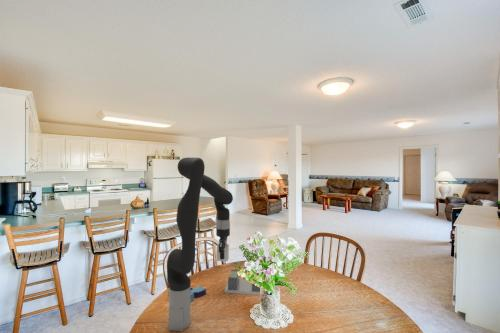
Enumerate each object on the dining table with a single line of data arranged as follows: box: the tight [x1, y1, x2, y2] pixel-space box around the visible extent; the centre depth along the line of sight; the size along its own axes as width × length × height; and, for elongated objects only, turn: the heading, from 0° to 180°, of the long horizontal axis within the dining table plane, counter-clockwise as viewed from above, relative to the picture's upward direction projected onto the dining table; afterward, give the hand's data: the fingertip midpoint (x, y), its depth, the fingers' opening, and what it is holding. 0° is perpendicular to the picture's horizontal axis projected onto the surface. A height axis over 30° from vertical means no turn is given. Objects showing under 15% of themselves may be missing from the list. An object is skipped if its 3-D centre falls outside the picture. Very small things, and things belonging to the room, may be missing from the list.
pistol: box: [168, 285, 207, 303], centre depth 136 cm, size 4×16×15 cm
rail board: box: [224, 269, 261, 296], centre depth 144 cm, size 14×22×8 cm, turn 85°
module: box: [216, 243, 230, 262], centre depth 139 cm, size 4×6×8 cm, turn 86°
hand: (222, 257), depth 139 cm, fingers closed on module, 4 cm apart
